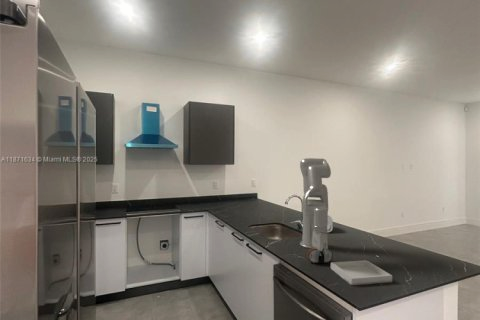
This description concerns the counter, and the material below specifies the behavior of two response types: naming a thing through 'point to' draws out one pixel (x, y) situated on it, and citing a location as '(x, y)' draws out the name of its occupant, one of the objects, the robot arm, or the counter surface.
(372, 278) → the white tray
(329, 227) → the bowl
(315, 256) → the tin
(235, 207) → the counter surface
